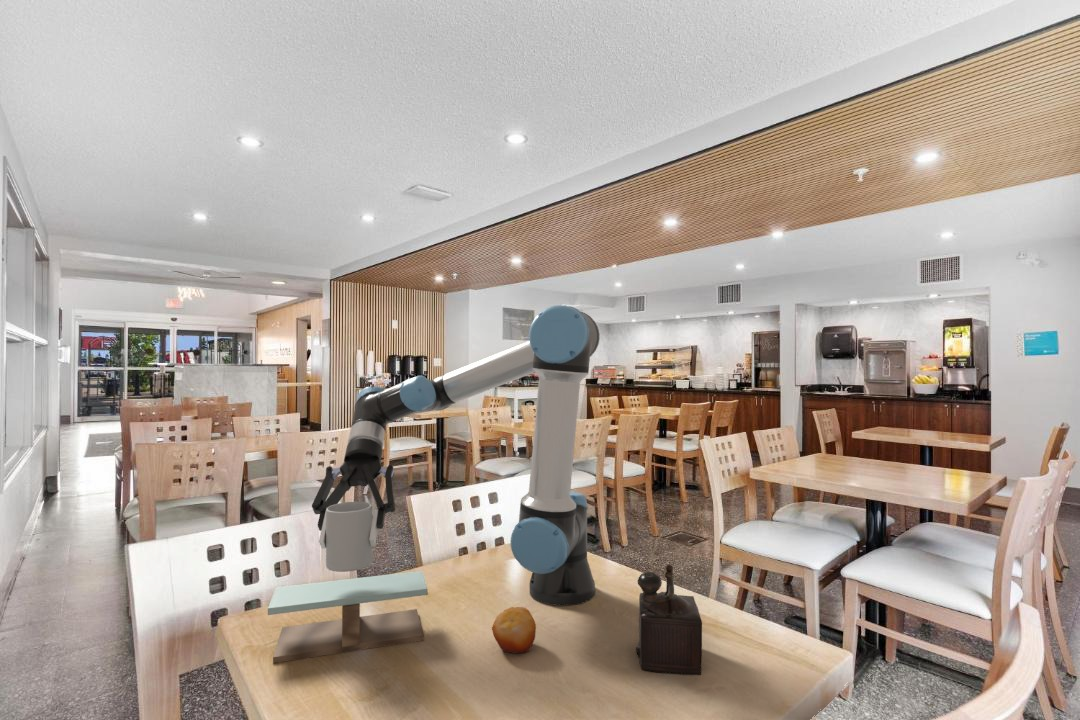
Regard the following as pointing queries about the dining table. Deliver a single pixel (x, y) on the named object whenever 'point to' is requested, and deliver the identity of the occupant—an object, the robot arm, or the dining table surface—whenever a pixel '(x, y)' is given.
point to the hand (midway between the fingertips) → (347, 543)
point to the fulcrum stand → (347, 634)
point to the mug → (348, 536)
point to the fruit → (514, 630)
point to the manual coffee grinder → (668, 628)
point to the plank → (347, 592)
